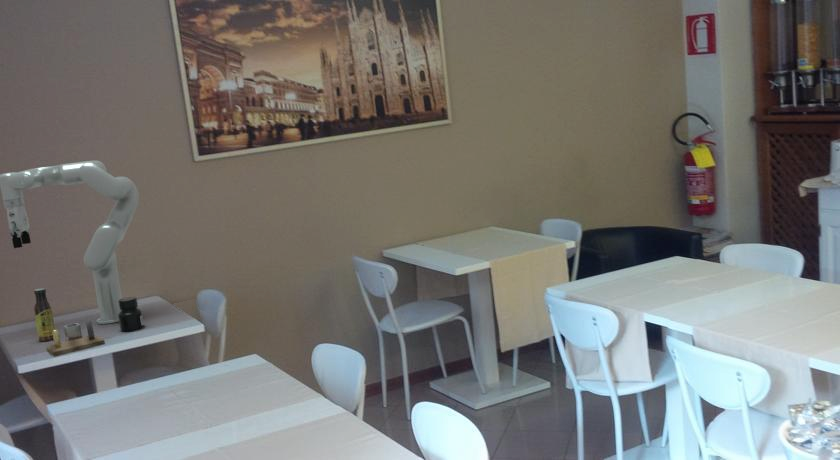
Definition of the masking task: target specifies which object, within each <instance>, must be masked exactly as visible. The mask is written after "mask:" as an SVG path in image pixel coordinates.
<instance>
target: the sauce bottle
mask: <svg viewBox="0 0 840 460" xmlns="http://www.w3.org/2000/svg"><path fill="white" fill-rule="evenodd" d="M46 292H47V290H46V288H45V287H44V288H43V287H42V288H37V289H36V288H35V289H34V291H33V293H34V296H35V301H36V303H35V304H34V308H33V309H34V310H33V311H34V319H35V325H36V332H37V336H38V340H39V341H40V342H46V341H47V342H48V341H52V340H54V338H53V333H52V330H55V329H56V328H55V322H54V316H53V309H52V307H51V305H50V303H49V302H48V299H47V295H46Z"/></svg>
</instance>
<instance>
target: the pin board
mask: <svg viewBox="0 0 840 460" xmlns="http://www.w3.org/2000/svg"><path fill="white" fill-rule="evenodd" d="M85 324H86V325H85V326H86V331H87V335H88V336H85V337H83V336H82V338H79V339H75V340H71V341H62V342H60V343H61V347H60V348H55V344H50V345H47V346H45V347H46V348H45V349H46V351H47V352H48V353H49V354H51V356H52V357H58V356H61V355H65V354H69V353H75V352H78V351H81V350H84V349H85V350H86V349H89V348H93V346H94V347H97V346H101V345H105V344H106V343H105V339H103V338H102V337H101V336H99V335H98V334H95V333H94V329H93V322H92V321H91V320H90V321H87V322H85Z"/></svg>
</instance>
